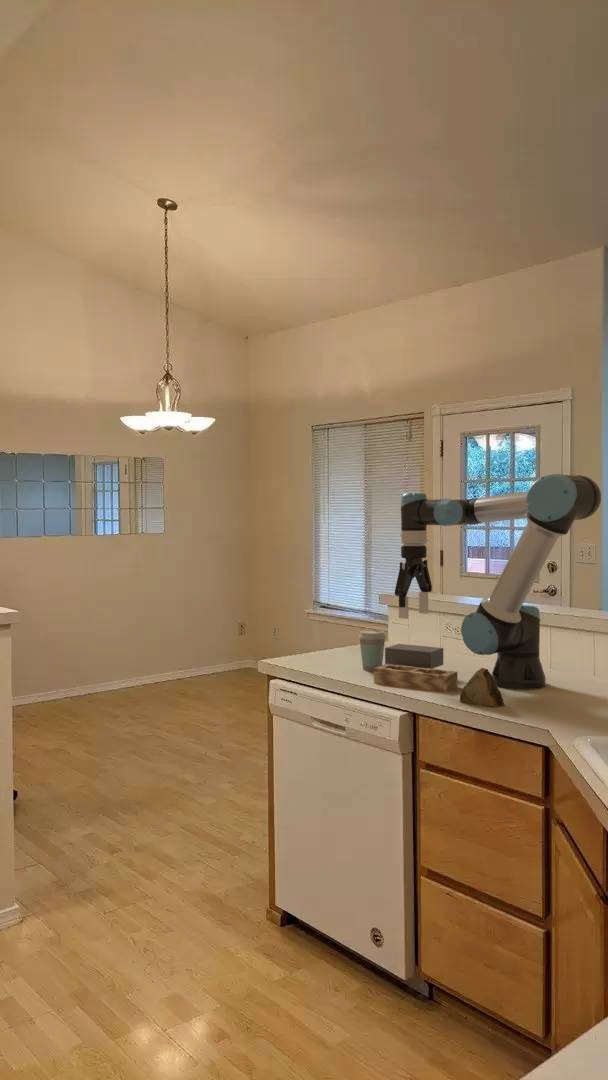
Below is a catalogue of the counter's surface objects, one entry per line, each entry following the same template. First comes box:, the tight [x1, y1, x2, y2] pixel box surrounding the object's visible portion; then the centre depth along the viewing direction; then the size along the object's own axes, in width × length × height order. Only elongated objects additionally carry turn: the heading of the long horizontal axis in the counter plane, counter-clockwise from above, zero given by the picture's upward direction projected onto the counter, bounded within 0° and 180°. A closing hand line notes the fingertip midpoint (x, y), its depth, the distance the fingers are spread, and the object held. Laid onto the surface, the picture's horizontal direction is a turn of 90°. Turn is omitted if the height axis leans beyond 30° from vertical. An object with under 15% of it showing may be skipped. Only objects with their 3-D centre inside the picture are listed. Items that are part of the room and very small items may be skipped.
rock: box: [459, 667, 506, 707], centre depth 221 cm, size 11×9×10 cm
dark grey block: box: [384, 643, 444, 669], centre depth 256 cm, size 15×9×8 cm, turn 56°
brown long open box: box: [373, 663, 458, 693], centre depth 244 cm, size 22×8×4 cm, turn 56°
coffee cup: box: [358, 629, 387, 672], centre depth 267 cm, size 8×8×12 cm
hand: (413, 615), depth 255 cm, fingers open, 13 cm apart
